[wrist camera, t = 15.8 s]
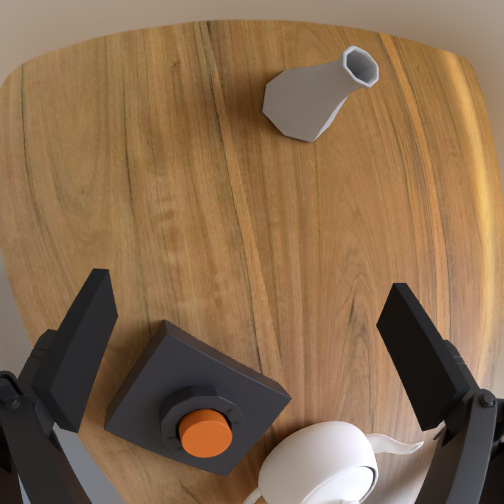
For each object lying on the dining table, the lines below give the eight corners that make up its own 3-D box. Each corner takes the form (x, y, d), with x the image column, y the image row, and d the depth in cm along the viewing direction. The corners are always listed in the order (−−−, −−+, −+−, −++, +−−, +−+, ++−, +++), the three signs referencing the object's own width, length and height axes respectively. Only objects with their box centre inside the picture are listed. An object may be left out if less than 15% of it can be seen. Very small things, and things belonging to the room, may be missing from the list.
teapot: (240, 512, 30) (269, 571, 20) (206, 451, 28) (234, 526, 18) (381, 443, 36) (429, 481, 26) (380, 372, 34) (443, 410, 24)
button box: (106, 409, 24) (102, 442, 19) (164, 319, 25) (169, 340, 21) (218, 457, 28) (230, 488, 24) (278, 382, 29) (301, 407, 25)
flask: (339, 99, 28) (407, 66, 19) (314, 156, 28) (386, 134, 19) (280, 59, 26) (334, 7, 17) (248, 115, 26) (299, 69, 16)
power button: (169, 435, 22) (172, 448, 20) (194, 401, 22) (199, 413, 20) (210, 450, 23) (214, 463, 21) (235, 419, 23) (242, 431, 22)
